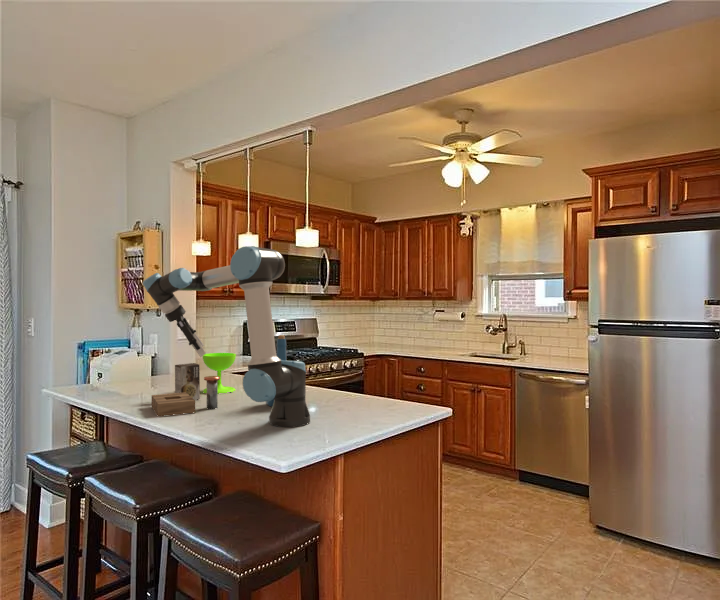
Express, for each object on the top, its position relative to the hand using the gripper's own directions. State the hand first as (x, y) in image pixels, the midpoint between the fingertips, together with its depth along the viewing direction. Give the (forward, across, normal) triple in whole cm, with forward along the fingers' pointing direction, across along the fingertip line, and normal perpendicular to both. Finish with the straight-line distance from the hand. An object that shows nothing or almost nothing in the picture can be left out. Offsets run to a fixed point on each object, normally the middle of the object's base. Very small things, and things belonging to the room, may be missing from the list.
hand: (202, 351), depth 221 cm
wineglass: (+30, -35, -8) cm, 47 cm away
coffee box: (+20, -17, -19) cm, 32 cm away
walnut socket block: (+14, +2, -23) cm, 27 cm away
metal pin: (+22, +4, -10) cm, 24 cm away
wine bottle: (+38, +7, +14) cm, 41 cm away
